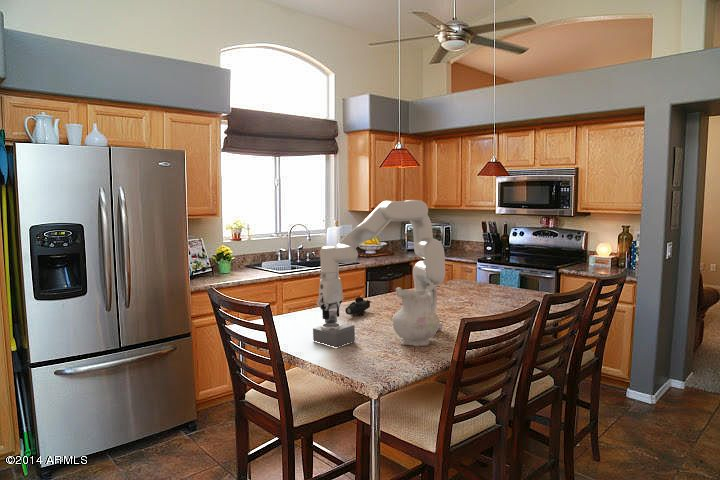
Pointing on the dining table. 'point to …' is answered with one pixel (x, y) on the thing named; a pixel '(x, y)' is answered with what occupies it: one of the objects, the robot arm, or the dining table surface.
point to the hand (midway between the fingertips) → (331, 317)
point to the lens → (332, 313)
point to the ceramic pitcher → (416, 316)
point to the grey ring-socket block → (334, 334)
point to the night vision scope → (358, 307)
